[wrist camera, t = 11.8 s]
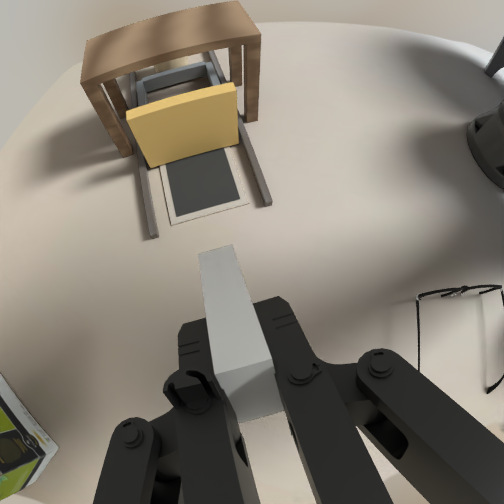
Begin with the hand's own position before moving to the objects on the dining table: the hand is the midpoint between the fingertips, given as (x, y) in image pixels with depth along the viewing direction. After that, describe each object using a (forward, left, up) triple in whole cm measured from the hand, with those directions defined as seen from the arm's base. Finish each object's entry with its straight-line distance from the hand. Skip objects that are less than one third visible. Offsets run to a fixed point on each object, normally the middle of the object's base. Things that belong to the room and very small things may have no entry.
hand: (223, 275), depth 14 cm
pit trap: (0, -18, -21) cm, 27 cm away
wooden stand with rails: (0, -29, -21) cm, 36 cm away
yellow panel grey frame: (0, -29, -20) cm, 35 cm away
